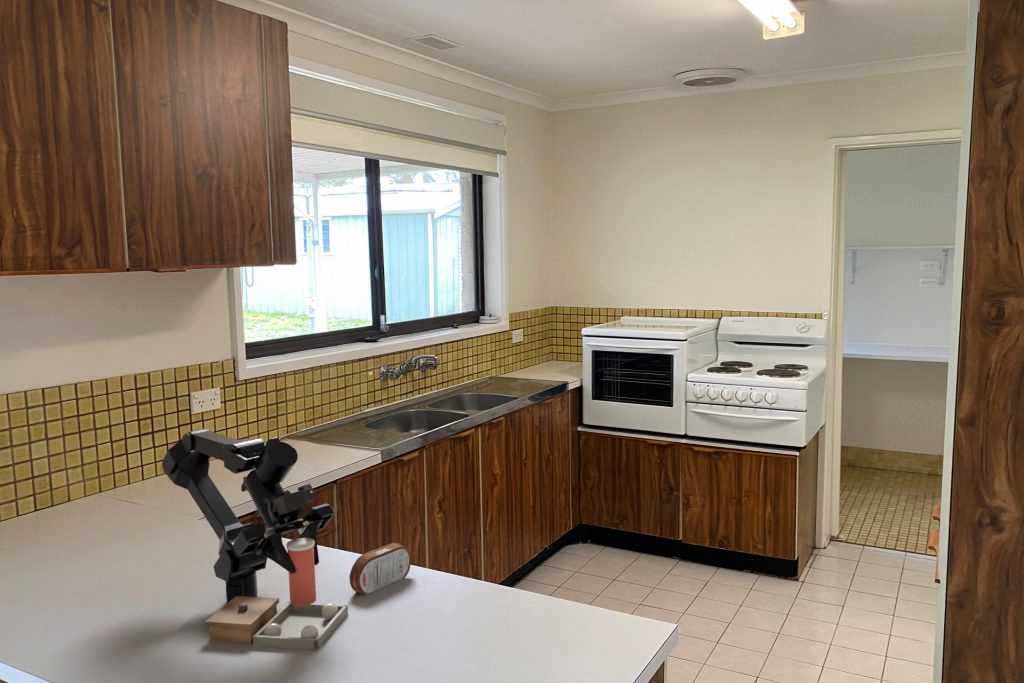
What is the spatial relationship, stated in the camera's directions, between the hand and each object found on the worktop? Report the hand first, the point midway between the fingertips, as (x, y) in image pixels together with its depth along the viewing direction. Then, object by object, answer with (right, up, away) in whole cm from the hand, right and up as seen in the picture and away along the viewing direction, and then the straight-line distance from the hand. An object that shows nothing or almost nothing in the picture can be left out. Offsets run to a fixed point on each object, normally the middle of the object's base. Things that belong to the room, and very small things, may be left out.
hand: (305, 568), depth 144 cm
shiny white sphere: (-5, -12, -2) cm, 14 cm away
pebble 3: (+3, -11, +6) cm, 13 cm away
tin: (+10, -10, +21) cm, 26 cm away
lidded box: (-12, -13, +3) cm, 18 cm away
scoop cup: (-1, -6, +2) cm, 7 cm away
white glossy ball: (+2, -12, -3) cm, 13 cm away
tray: (-1, -13, +2) cm, 13 cm away
